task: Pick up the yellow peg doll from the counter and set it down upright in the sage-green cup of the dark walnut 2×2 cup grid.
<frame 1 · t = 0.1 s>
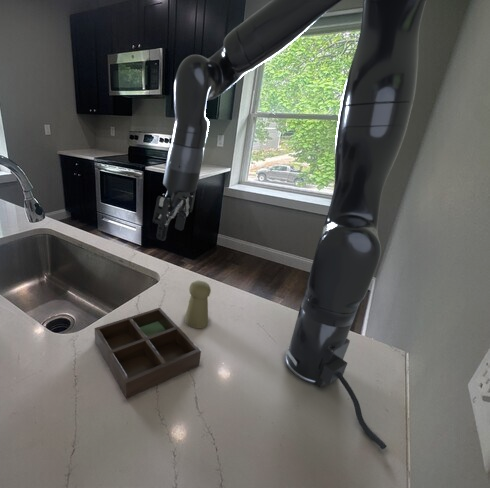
hand: (170, 234, 71), 22 cm above the worktop, tool pointing down, fingers open, 8 cm apart
grid: (145, 353, 65), on the worktop
yellow peg doll: (196, 321, 76), on the worktop
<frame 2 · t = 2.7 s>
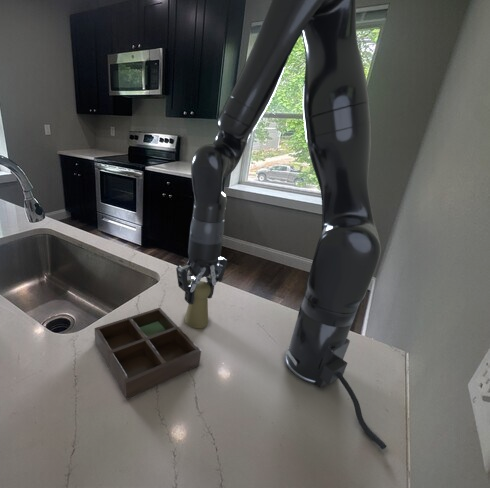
hand: (198, 299, 74), 6 cm above the worktop, tool pointing down, fingers closed on yellow peg doll, 5 cm apart
yellow peg doll: (196, 321, 76), on the worktop, touching gripper
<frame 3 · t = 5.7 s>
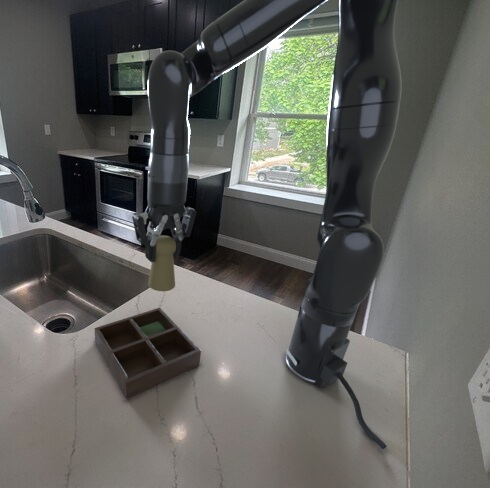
hand: (163, 257, 63), 20 cm above the worktop, tool pointing down, fingers closed on yellow peg doll, 5 cm apart
yellow peg doll: (161, 284, 65), point 14 cm above the worktop, touching gripper
when the fingers open (7 cm above the worktop, at t = 9.1 s): yellow peg doll stays where it is, resting on grid.
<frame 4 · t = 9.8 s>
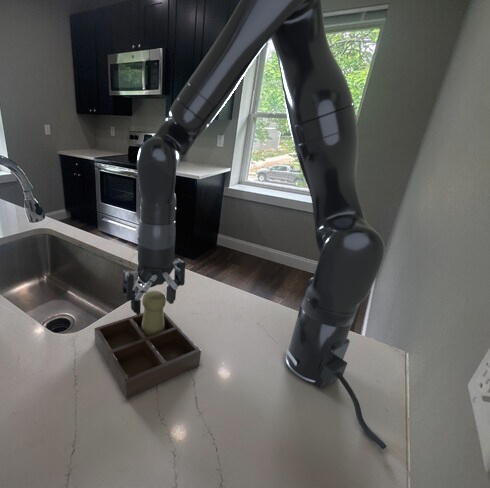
hand: (153, 307, 67), 8 cm above the worktop, tool pointing down, fingers open, 8 cm apart
yellow peg doll: (152, 334, 70), point 1 cm above the worktop, touching grid
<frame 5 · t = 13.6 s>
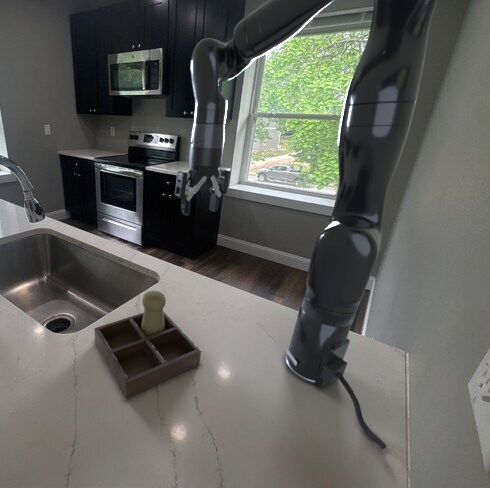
hand: (199, 212, 74), 26 cm above the worktop, tool pointing down, fingers open, 8 cm apart
nothing on the worktop moved.
at the end: yellow peg doll 0.1 cm from the target spot in the grid, point 0.6 cm above the grid's base; yellow peg doll tilted 0°; the gripper is holding nothing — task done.
